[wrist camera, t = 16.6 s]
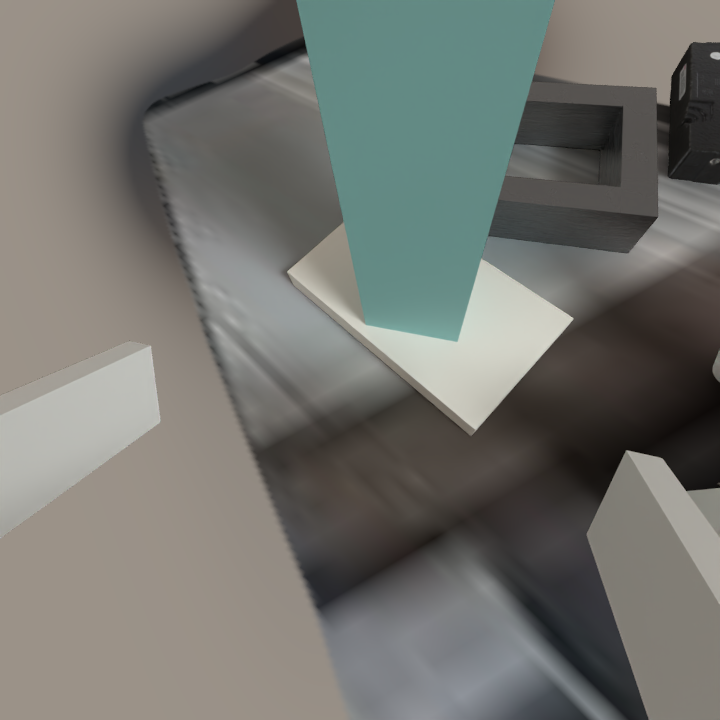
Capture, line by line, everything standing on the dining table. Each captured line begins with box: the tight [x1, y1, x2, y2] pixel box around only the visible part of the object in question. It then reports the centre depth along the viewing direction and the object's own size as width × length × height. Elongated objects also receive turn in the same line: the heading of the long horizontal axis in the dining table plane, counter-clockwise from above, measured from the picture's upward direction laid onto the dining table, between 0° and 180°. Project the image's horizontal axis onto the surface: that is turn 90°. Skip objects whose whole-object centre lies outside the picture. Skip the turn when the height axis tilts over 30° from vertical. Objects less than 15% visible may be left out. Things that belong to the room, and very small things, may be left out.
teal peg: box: [296, 0, 555, 342], centre depth 15 cm, size 5×5×15 cm
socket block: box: [488, 82, 658, 253], centre depth 24 cm, size 10×10×3 cm
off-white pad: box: [287, 222, 574, 436], centre depth 22 cm, size 14×8×2 cm, turn 46°
